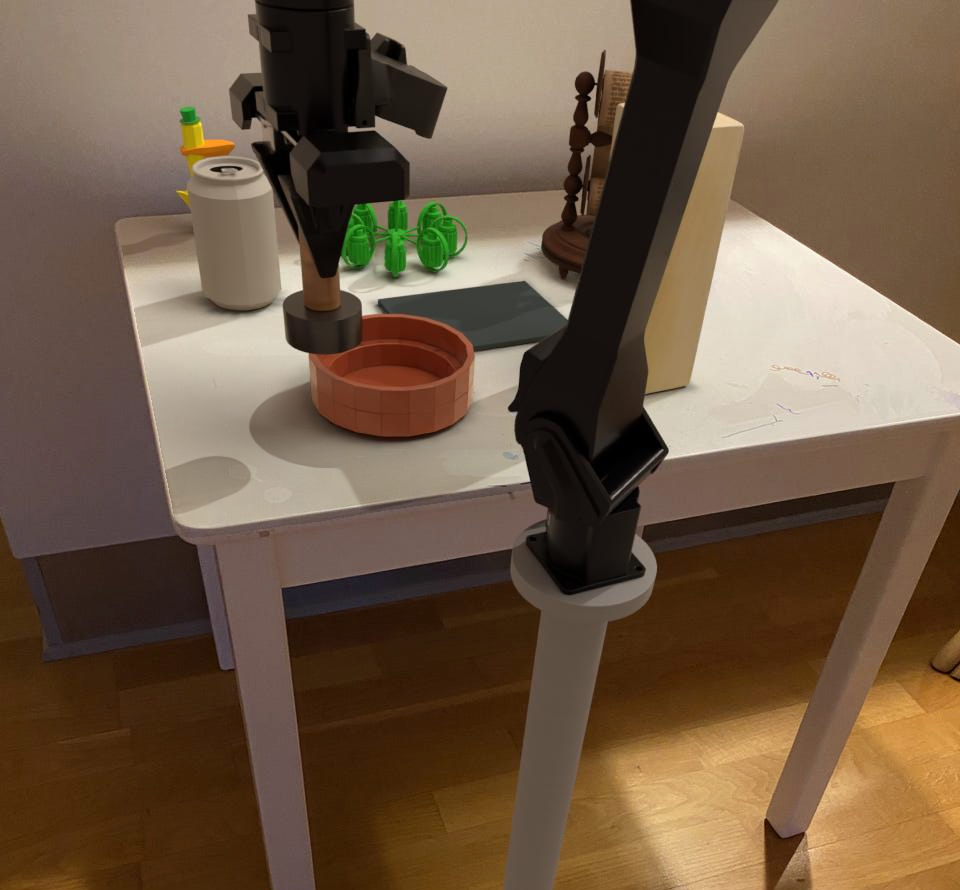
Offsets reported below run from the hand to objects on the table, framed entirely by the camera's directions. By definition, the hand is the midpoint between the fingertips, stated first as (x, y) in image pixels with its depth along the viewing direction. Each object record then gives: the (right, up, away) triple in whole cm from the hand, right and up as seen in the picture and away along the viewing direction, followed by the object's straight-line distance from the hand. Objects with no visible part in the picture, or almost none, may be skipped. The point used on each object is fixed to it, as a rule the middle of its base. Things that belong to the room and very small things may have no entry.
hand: (321, 268), depth 65 cm
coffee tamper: (0, -4, +3) cm, 5 cm away
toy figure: (-18, +19, +38) cm, 46 cm away
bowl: (+4, -6, +13) cm, 15 cm away
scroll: (+25, +15, +37) cm, 47 cm away
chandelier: (+2, +15, +36) cm, 39 cm away
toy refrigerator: (+25, -2, +19) cm, 31 cm away
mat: (+11, +5, +25) cm, 28 cm away
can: (-12, +7, +26) cm, 29 cm away
